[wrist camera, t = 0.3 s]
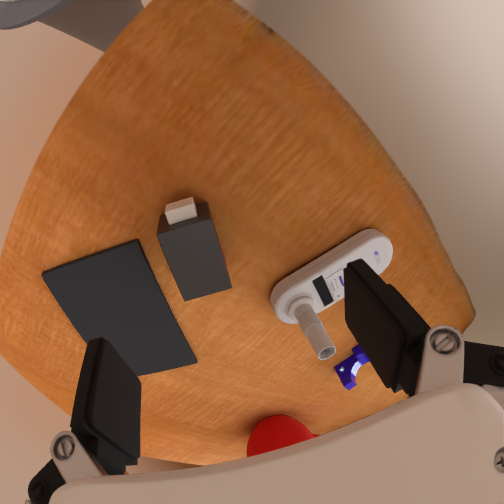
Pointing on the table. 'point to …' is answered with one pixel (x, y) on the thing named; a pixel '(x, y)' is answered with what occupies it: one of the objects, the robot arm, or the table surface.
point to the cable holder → (351, 367)
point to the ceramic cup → (276, 434)
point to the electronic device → (326, 285)
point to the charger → (193, 249)
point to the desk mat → (121, 307)
